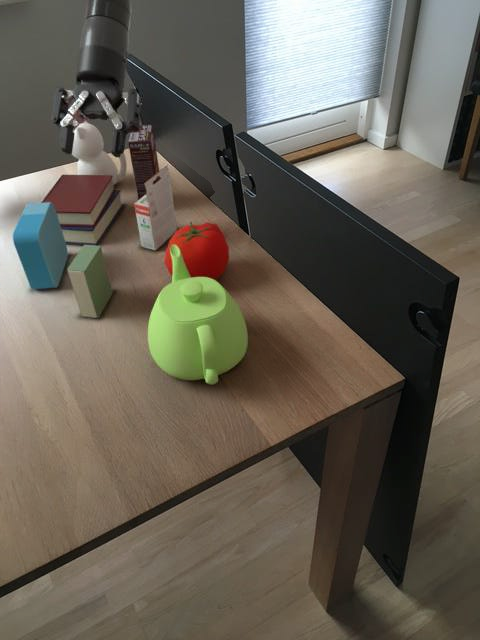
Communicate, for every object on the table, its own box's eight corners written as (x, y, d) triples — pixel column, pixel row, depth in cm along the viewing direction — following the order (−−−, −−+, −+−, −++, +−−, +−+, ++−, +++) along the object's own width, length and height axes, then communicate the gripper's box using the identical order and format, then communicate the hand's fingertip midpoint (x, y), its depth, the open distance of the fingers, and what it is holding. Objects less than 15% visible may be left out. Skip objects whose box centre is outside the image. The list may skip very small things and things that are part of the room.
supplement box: (162, 211, 116) (151, 141, 106) (139, 213, 116) (126, 142, 105) (163, 192, 123) (153, 123, 112) (142, 193, 122) (130, 125, 112)
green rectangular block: (81, 317, 91) (66, 269, 85) (97, 291, 96) (84, 244, 90) (98, 318, 91) (84, 271, 84) (112, 292, 96) (101, 245, 89)
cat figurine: (79, 177, 130) (63, 115, 120) (131, 173, 130) (120, 111, 120) (75, 195, 123) (57, 131, 113) (129, 191, 124) (117, 127, 114)
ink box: (141, 247, 106) (127, 179, 96) (163, 227, 111) (152, 161, 102) (156, 251, 105) (144, 183, 95) (178, 231, 110) (169, 164, 100)
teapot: (140, 314, 91) (126, 250, 82) (224, 295, 94) (220, 232, 85) (164, 412, 75) (150, 346, 67) (266, 386, 78) (265, 319, 69)
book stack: (40, 242, 109) (29, 210, 104) (72, 202, 121) (63, 172, 116) (96, 246, 107) (88, 214, 102) (123, 205, 119) (117, 175, 114)
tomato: (245, 269, 99) (243, 222, 93) (201, 306, 92) (195, 257, 85) (199, 250, 105) (194, 204, 98) (154, 284, 97) (145, 236, 91)
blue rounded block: (46, 254, 106) (27, 200, 98) (69, 253, 106) (52, 198, 98) (32, 292, 97) (10, 236, 89) (57, 291, 97) (37, 234, 89)
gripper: (51, 42, 85) (38, 143, 84) (136, 43, 82) (123, 148, 82) (74, 66, 92) (62, 159, 92) (152, 68, 89) (141, 164, 89)
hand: (90, 154), depth 87 cm, fingers open, 8 cm apart
